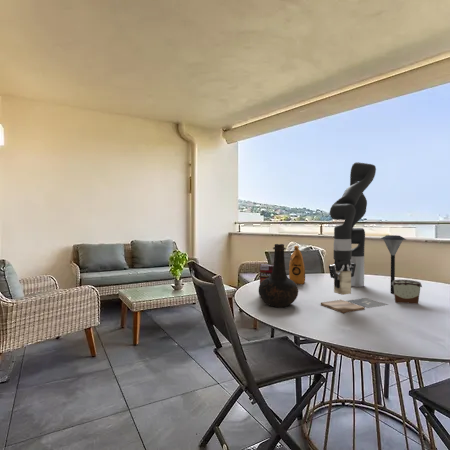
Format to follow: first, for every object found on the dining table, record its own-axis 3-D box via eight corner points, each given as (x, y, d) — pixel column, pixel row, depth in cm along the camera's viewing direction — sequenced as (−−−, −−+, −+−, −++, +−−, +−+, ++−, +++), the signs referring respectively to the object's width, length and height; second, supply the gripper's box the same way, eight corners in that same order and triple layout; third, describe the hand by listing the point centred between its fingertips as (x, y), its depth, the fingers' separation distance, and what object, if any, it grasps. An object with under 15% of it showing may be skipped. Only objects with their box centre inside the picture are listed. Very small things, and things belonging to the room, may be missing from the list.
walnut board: (320, 304, 148) (320, 302, 148) (340, 301, 153) (340, 299, 153) (343, 313, 135) (343, 310, 135) (364, 309, 140) (364, 307, 140)
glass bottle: (252, 301, 154) (251, 243, 153) (283, 297, 161) (283, 241, 160) (271, 312, 137) (271, 246, 136) (306, 307, 144) (306, 244, 143)
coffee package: (287, 283, 192) (287, 247, 192) (289, 279, 204) (289, 245, 204) (304, 284, 190) (305, 247, 189) (305, 280, 202) (305, 245, 201)
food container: (418, 301, 153) (418, 280, 152) (421, 304, 147) (422, 282, 146) (389, 299, 157) (389, 278, 156) (391, 302, 151) (391, 281, 150)
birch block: (334, 292, 145) (334, 270, 144) (342, 291, 147) (342, 269, 146) (342, 294, 140) (342, 271, 140) (351, 293, 142) (351, 271, 142)
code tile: (345, 301, 153) (345, 300, 153) (365, 298, 158) (365, 297, 158) (367, 308, 141) (367, 308, 141) (388, 304, 147) (388, 304, 147)
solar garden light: (379, 294, 165) (380, 236, 164) (379, 289, 176) (379, 234, 175) (406, 297, 160) (407, 236, 159) (405, 291, 171) (405, 235, 170)
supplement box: (259, 296, 163) (259, 265, 162) (260, 294, 168) (260, 264, 167) (276, 297, 161) (276, 265, 161) (277, 295, 166) (277, 264, 165)
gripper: (348, 247, 149) (348, 284, 150) (323, 249, 143) (323, 287, 144) (361, 249, 142) (360, 287, 143) (336, 250, 137) (335, 290, 137)
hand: (342, 287), depth 143 cm, fingers closed on birch block, 5 cm apart
